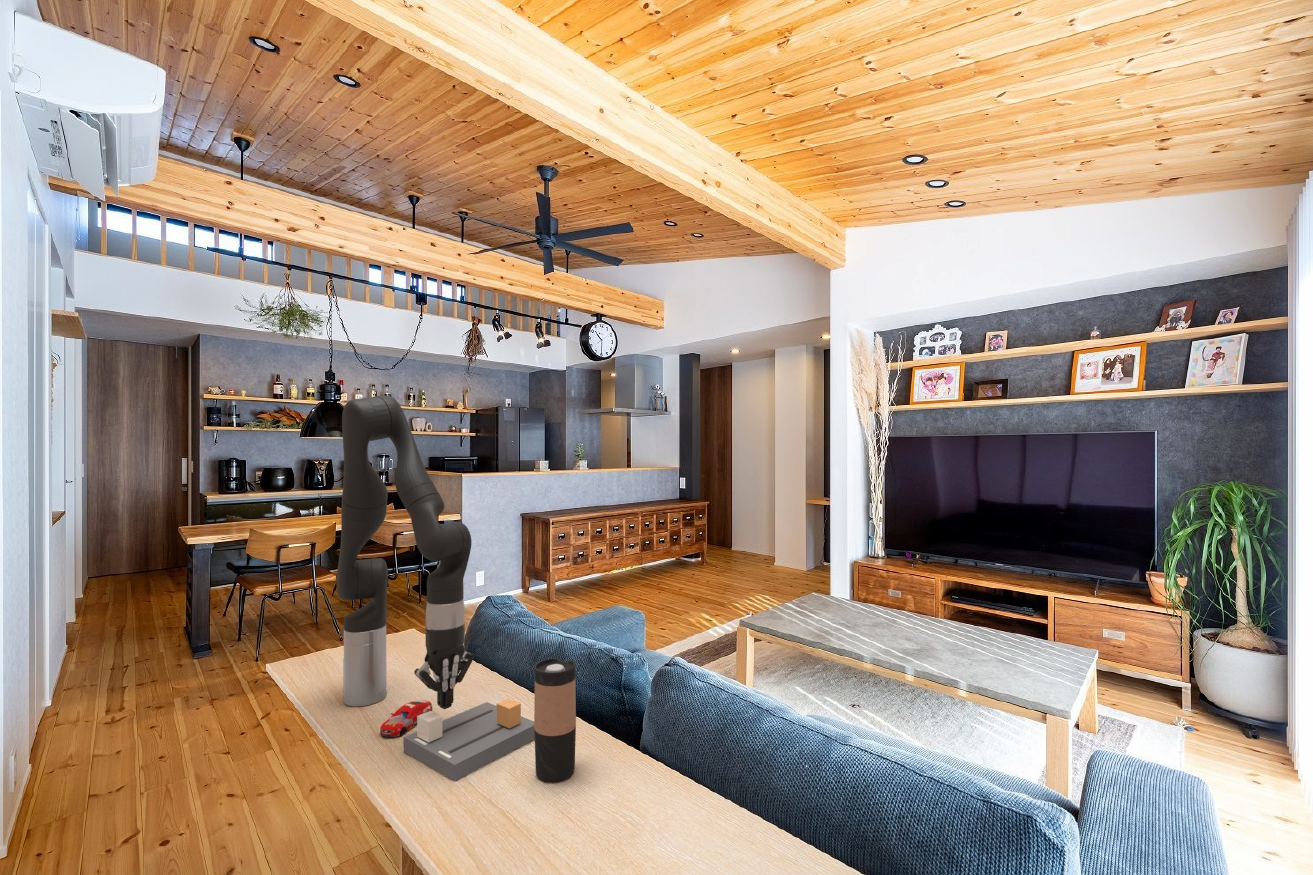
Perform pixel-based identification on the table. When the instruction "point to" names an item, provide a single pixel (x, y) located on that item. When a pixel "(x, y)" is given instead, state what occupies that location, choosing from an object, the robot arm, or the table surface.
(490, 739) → the console
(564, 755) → the travel mug
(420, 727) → the fader
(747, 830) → the table surface
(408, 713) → the race car
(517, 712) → the fader
